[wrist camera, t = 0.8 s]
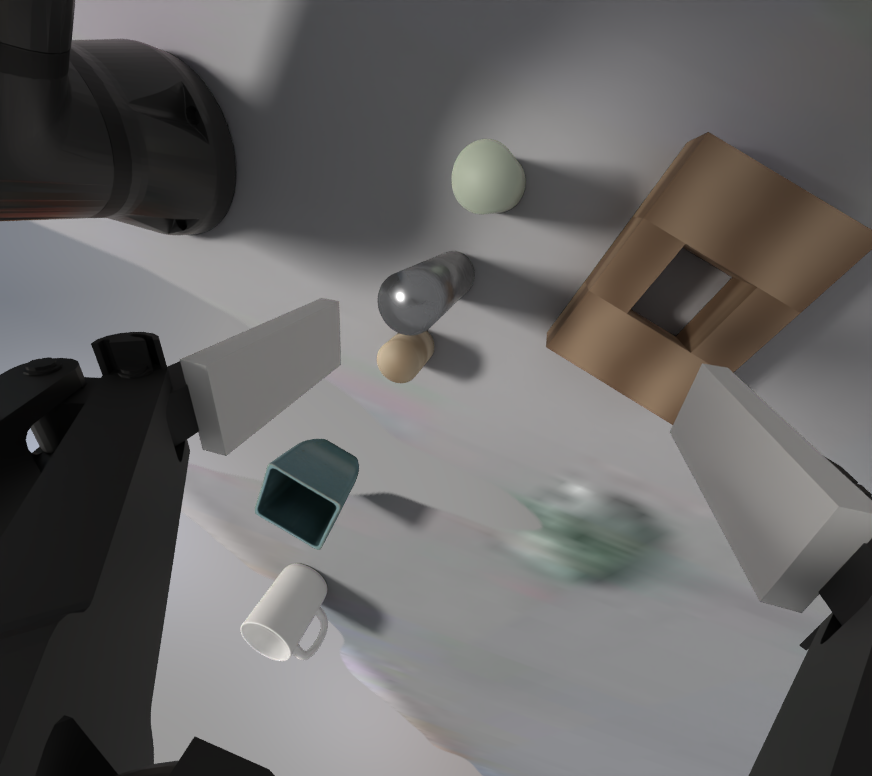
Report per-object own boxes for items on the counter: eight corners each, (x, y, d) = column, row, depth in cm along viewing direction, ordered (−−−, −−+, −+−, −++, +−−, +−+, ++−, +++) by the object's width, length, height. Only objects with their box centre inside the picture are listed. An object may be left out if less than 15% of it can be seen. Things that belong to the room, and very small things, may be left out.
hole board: (547, 332, 33) (546, 347, 30) (687, 142, 25) (708, 131, 22) (661, 402, 33) (673, 425, 30) (839, 233, 25) (884, 237, 22)
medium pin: (466, 197, 31) (440, 193, 24) (491, 145, 29) (471, 125, 22) (507, 222, 31) (493, 226, 24) (536, 172, 29) (530, 160, 22)
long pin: (424, 282, 35) (368, 314, 24) (444, 242, 33) (392, 258, 22) (460, 305, 35) (420, 347, 24) (482, 266, 33) (449, 293, 22)
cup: (303, 555, 59) (259, 617, 50) (353, 606, 61) (320, 673, 52) (275, 569, 63) (230, 628, 54) (324, 616, 65) (287, 680, 56)
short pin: (391, 350, 39) (370, 368, 34) (406, 318, 37) (386, 333, 32) (423, 370, 39) (407, 390, 34) (441, 339, 37) (426, 357, 32)
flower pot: (377, 455, 45) (341, 506, 38) (355, 498, 50) (318, 552, 42) (316, 419, 46) (267, 462, 38) (299, 465, 50) (252, 512, 42)
